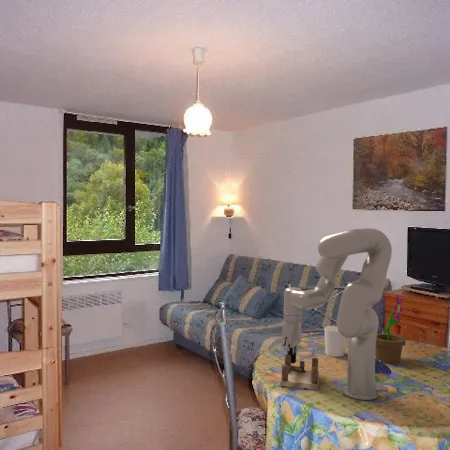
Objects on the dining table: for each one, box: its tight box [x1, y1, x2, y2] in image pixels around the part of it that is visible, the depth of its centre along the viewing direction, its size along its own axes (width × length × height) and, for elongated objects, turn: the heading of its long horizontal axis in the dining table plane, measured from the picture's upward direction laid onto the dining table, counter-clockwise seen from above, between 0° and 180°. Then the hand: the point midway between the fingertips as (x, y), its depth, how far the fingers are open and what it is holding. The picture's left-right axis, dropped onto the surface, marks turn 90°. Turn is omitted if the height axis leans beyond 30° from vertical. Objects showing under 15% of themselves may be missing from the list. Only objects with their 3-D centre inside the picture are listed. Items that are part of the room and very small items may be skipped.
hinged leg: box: [284, 353, 306, 372], centre depth 189 cm, size 8×2×6 cm, turn 65°
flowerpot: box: [375, 294, 406, 365], centre depth 209 cm, size 14×14×30 cm
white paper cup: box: [324, 325, 347, 358], centre depth 217 cm, size 10×10×12 cm
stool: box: [279, 357, 320, 391], centre depth 183 cm, size 14×14×8 cm
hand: (291, 362), depth 194 cm, fingers closed
